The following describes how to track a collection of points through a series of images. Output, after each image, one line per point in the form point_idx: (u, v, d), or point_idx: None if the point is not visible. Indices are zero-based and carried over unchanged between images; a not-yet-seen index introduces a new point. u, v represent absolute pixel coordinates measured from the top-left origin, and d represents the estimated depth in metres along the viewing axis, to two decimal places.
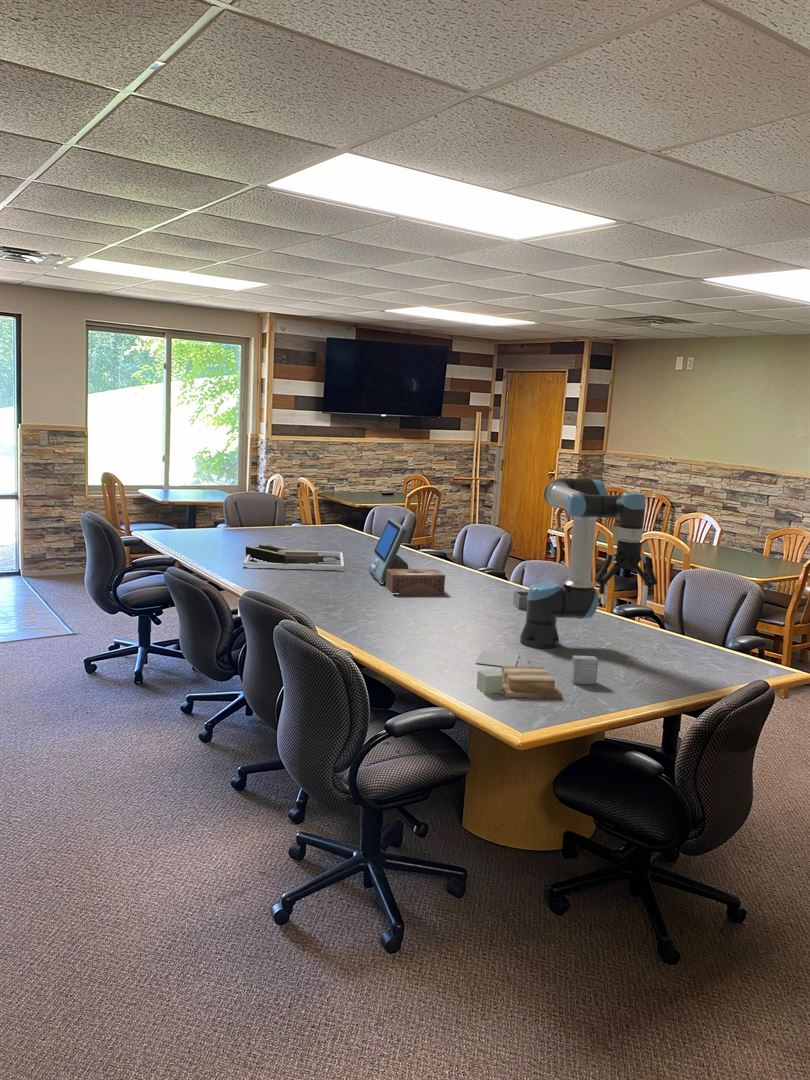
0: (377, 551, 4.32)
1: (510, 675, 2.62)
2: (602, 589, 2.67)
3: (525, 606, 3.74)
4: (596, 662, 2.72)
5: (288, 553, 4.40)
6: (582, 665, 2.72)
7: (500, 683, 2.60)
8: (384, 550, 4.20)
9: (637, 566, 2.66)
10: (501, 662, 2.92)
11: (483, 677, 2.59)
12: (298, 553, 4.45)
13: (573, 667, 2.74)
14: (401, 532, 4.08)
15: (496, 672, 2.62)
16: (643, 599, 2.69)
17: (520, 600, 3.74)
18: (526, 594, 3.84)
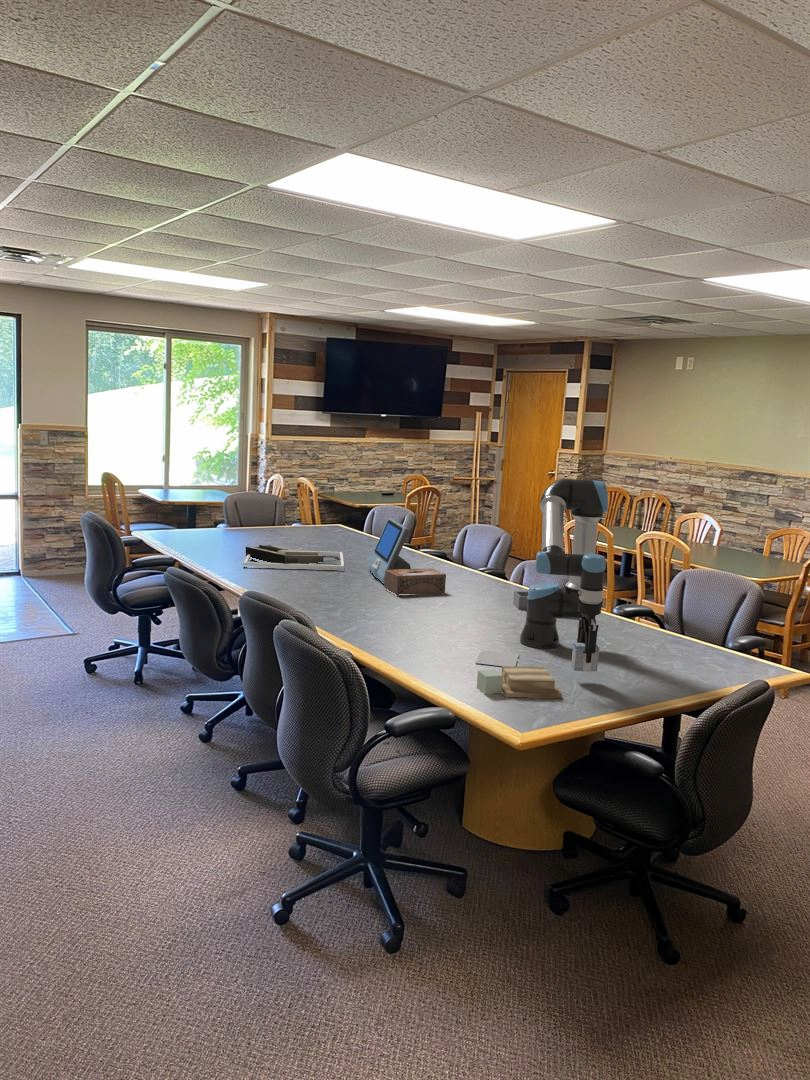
0: (378, 551, 4.32)
1: (510, 675, 2.62)
2: None
3: (525, 606, 3.74)
4: (597, 649, 2.72)
5: (288, 553, 4.40)
6: None
7: (500, 683, 2.60)
8: (386, 550, 4.19)
9: (584, 627, 2.71)
10: (501, 662, 2.92)
11: (483, 677, 2.59)
12: (298, 553, 4.45)
13: (574, 654, 2.73)
14: (404, 532, 4.08)
15: (496, 672, 2.62)
16: None
17: (520, 600, 3.74)
18: (526, 594, 3.84)
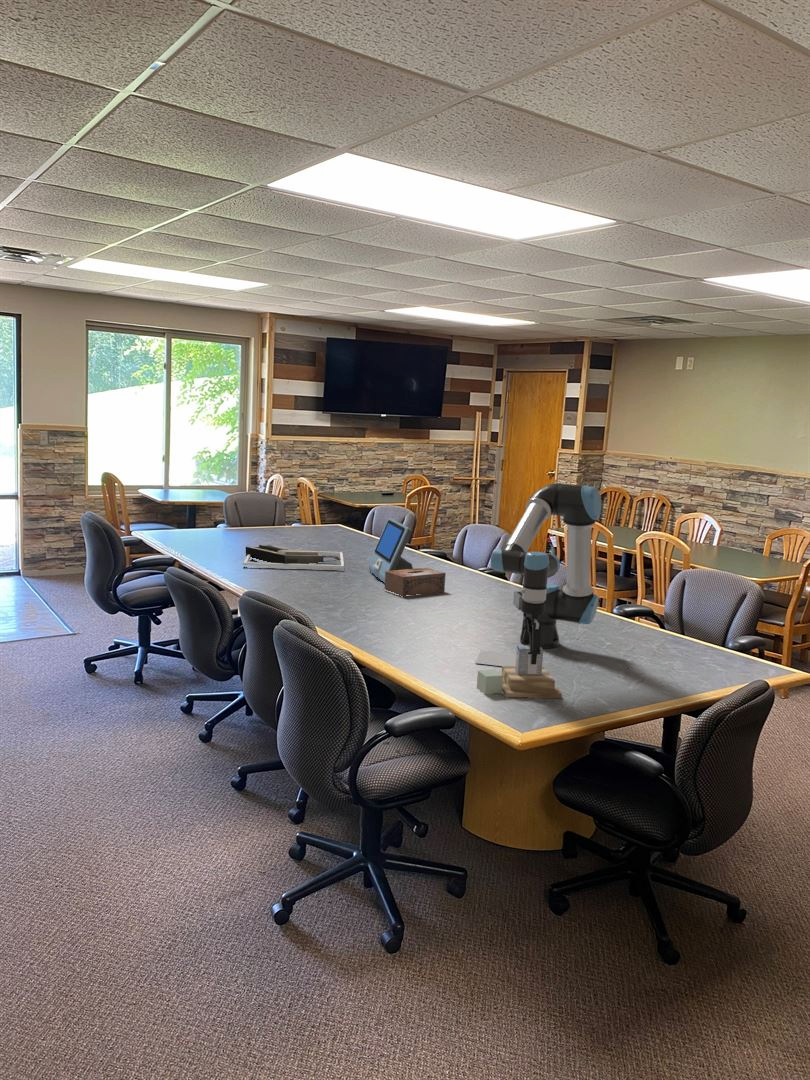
0: (378, 551, 4.32)
1: (510, 675, 2.62)
2: None
3: None
4: (541, 652, 2.63)
5: (288, 553, 4.40)
6: (526, 655, 2.62)
7: (500, 683, 2.60)
8: (387, 550, 4.19)
9: (528, 628, 2.61)
10: (501, 662, 2.92)
11: (483, 677, 2.59)
12: (298, 553, 4.45)
13: (517, 657, 2.64)
14: (406, 532, 4.08)
15: (496, 672, 2.62)
16: None
17: (520, 600, 3.74)
18: None
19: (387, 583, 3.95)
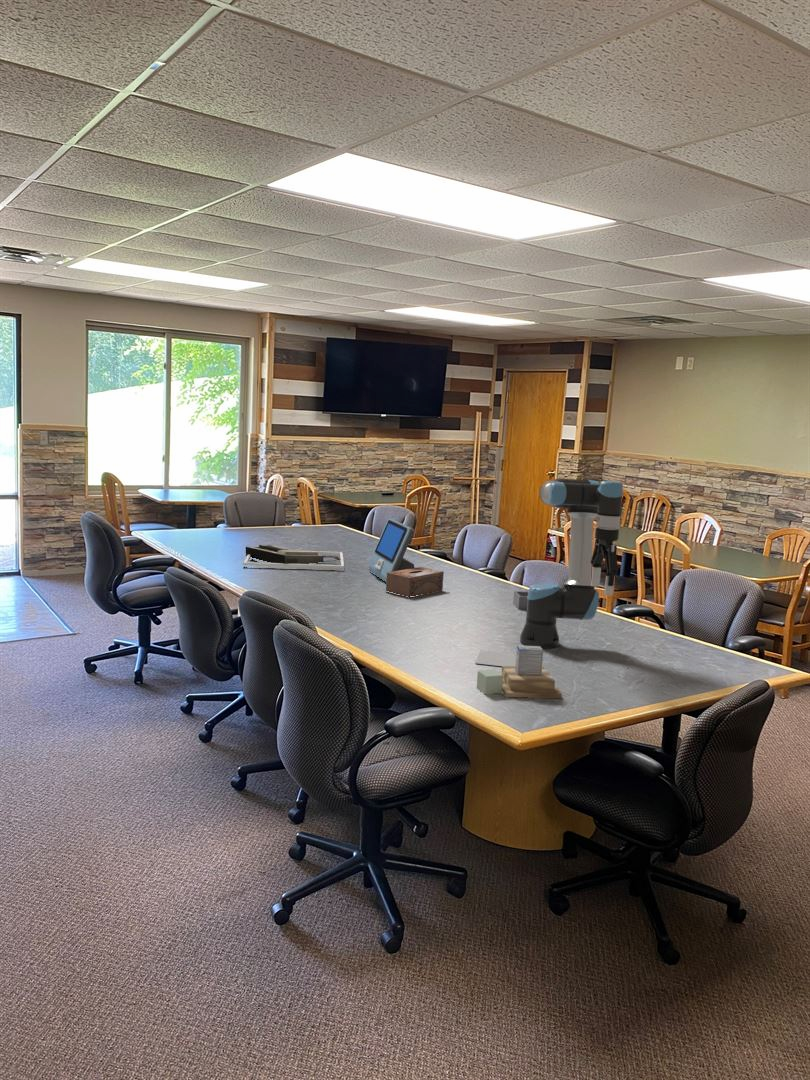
0: (379, 551, 4.31)
1: (510, 675, 2.62)
2: None
3: (525, 606, 3.74)
4: (541, 652, 2.63)
5: (288, 553, 4.40)
6: (526, 655, 2.62)
7: (500, 683, 2.60)
8: (389, 550, 4.19)
9: (603, 553, 2.70)
10: (501, 662, 2.92)
11: (483, 677, 2.59)
12: (298, 553, 4.45)
13: (517, 657, 2.64)
14: (409, 532, 4.08)
15: (496, 672, 2.62)
16: None
17: (520, 600, 3.74)
18: (526, 594, 3.84)
19: (389, 584, 3.93)
